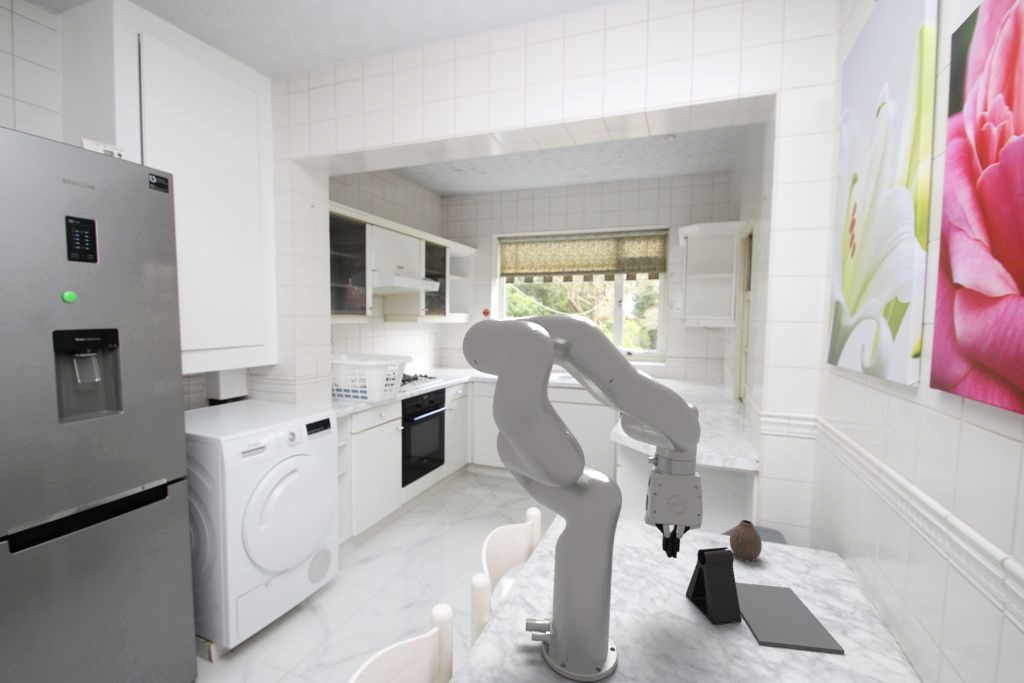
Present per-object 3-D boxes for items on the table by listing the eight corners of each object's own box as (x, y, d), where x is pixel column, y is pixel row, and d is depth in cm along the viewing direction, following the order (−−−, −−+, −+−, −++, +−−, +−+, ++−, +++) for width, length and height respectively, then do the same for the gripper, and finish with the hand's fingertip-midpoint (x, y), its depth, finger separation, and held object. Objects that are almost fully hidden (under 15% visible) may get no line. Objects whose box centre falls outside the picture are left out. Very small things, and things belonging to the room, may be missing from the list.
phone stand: (741, 622, 83) (745, 560, 82) (713, 625, 82) (717, 563, 81) (710, 593, 92) (714, 537, 91) (685, 595, 90) (688, 539, 90)
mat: (759, 644, 77) (759, 641, 77) (721, 583, 95) (721, 581, 95) (844, 653, 76) (844, 650, 76) (789, 590, 93) (789, 587, 93)
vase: (765, 566, 103) (767, 530, 102) (733, 562, 104) (735, 526, 104) (755, 551, 110) (757, 517, 109) (725, 547, 111) (727, 514, 110)
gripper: (640, 467, 83) (635, 561, 84) (721, 473, 82) (716, 568, 83) (633, 455, 91) (629, 541, 92) (708, 460, 89) (702, 548, 90)
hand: (670, 554), depth 87 cm, fingers closed
